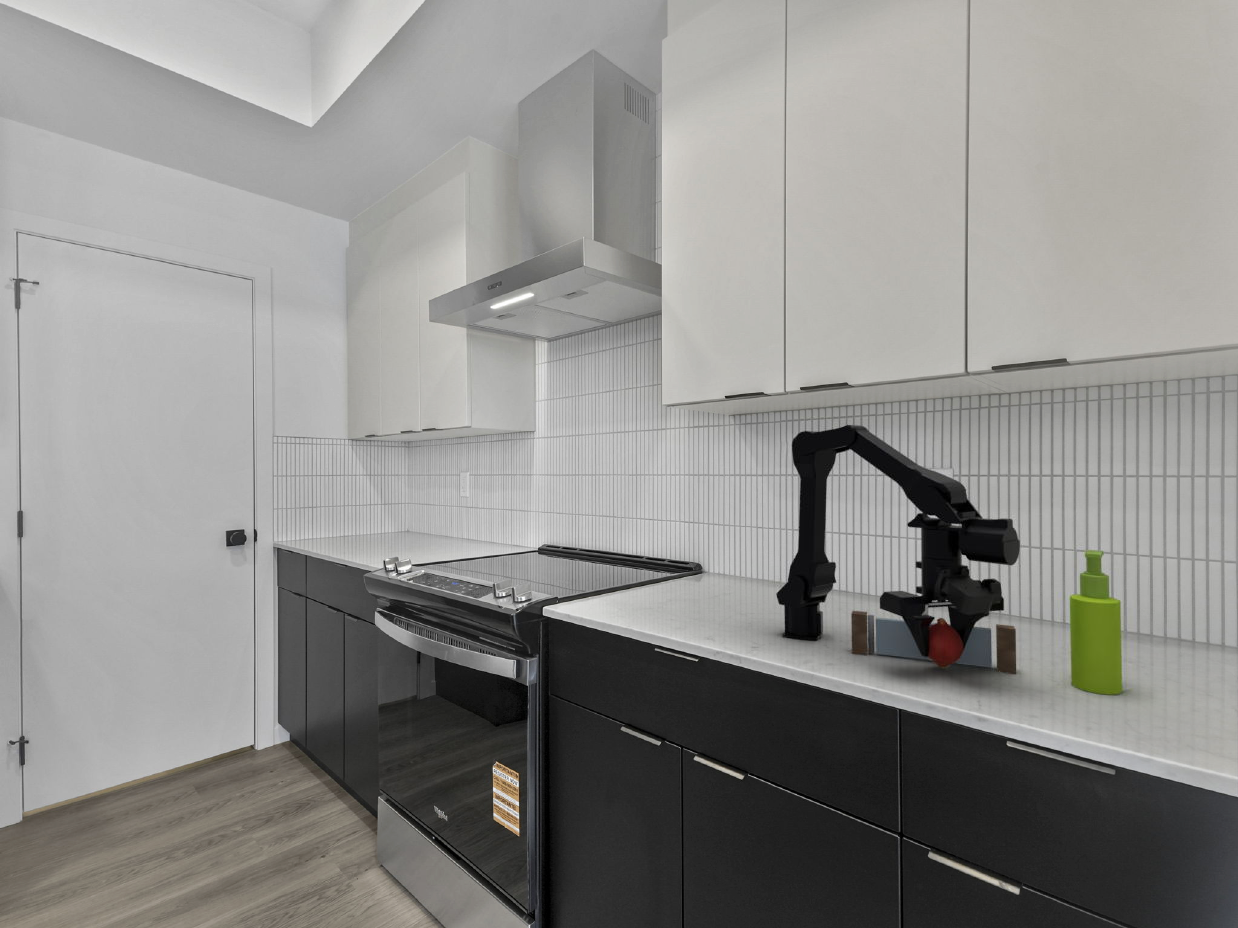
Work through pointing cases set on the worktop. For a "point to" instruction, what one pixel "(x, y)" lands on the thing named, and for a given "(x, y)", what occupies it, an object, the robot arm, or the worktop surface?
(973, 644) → the door
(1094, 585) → the soap dispenser
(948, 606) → the robot arm
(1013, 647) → the door frame
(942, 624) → the onion
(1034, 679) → the worktop surface
